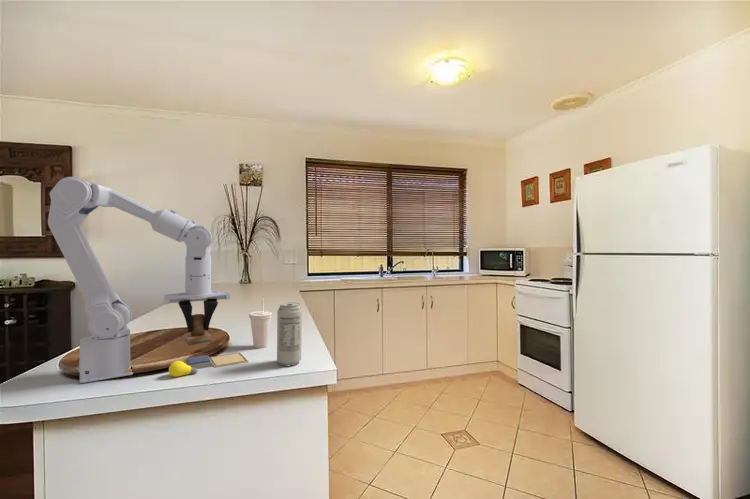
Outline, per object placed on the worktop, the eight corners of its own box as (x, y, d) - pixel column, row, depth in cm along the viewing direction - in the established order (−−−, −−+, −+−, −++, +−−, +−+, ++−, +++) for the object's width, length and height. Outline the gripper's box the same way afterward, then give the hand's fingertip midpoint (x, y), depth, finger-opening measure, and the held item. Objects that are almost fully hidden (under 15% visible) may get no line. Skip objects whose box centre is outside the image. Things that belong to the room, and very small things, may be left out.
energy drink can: (302, 358, 98) (302, 301, 97) (300, 366, 92) (301, 306, 91) (278, 359, 97) (279, 301, 97) (275, 367, 91) (275, 306, 91)
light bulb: (166, 375, 84) (170, 359, 86) (194, 379, 87) (198, 363, 88) (166, 376, 82) (172, 359, 83) (196, 379, 84) (200, 363, 86)
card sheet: (214, 367, 90) (214, 366, 90) (208, 358, 97) (208, 357, 97) (248, 361, 95) (248, 360, 95) (240, 353, 101) (240, 352, 101)
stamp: (188, 345, 88) (188, 318, 88) (184, 340, 92) (184, 314, 92) (211, 341, 91) (210, 315, 91) (206, 337, 95) (205, 312, 95)
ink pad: (187, 370, 88) (187, 364, 88) (184, 363, 92) (184, 357, 92) (212, 366, 91) (212, 360, 91) (208, 359, 96) (208, 354, 96)
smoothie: (268, 350, 104) (268, 300, 104) (245, 349, 104) (245, 300, 104) (274, 343, 111) (275, 296, 110) (253, 343, 111) (253, 296, 110)
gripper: (225, 272, 98) (225, 323, 99) (162, 274, 90) (162, 330, 91) (232, 275, 92) (231, 329, 93) (165, 277, 84) (165, 337, 85)
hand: (198, 330), depth 91 cm, fingers closed on stamp, 3 cm apart
